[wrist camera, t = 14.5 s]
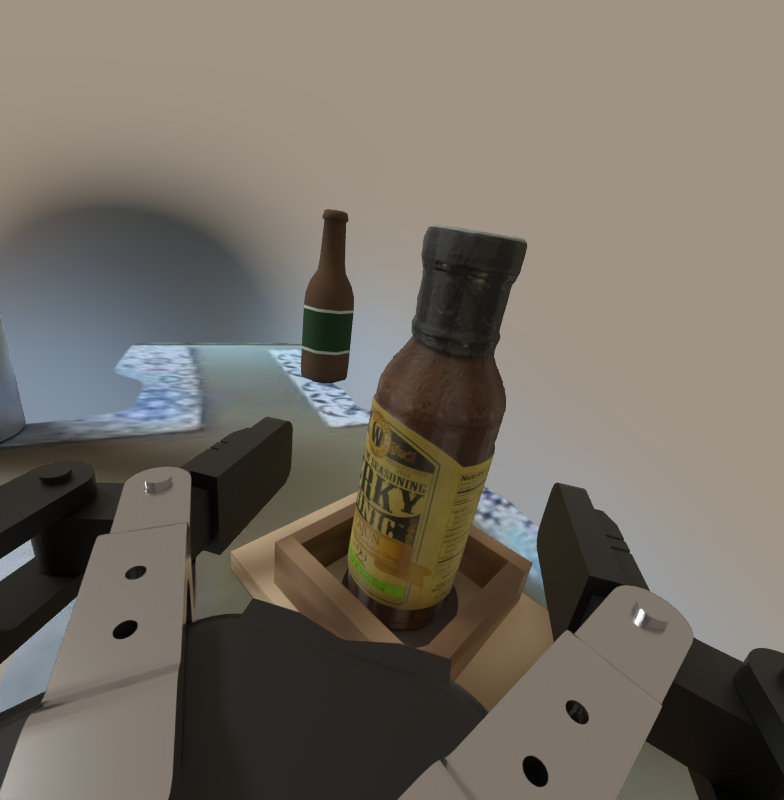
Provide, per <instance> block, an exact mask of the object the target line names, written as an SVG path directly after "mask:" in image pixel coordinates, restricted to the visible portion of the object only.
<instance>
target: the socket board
mask: <svg viewBox="0 0 784 800" xmlns="http://www.w3.org/2000/svg"><path fill="white" fill-rule="evenodd" d="M357 494H358V491H357V492H355V493H353V494H351V495H349V496H347V497H345V498H343V499H340V500H338V501H336V502H334V503H332V504H330V505H328V506H326V507H324V508H322V509H319V510H317V511H315V512H313V513H311V514H309V515H307V516H305V517H303V518H300V519H298V520H296V521H294V522H292V523H290V524H288V525H286V526H284V527H282V528H279V529H277V530H275V531H273V532H271V533H269V534H267V535H265V536H263V537H260V538H258V539H256V540H254V541H252V542H250V543H248V544H246V545H244V546H242V547H239V548H237V549H235V550H233V551H231V570H232V571H233V573H234V574H235V575H236V576H237V578H238V579H239V580H240V582H241V583H242V584H243V585H244V587H245V588H246V589H247V590H248V592H249V593H250V594H251V595H252V597H253V598H255V599H258V600H262V601H265V602H268V603H271V604H275V605H278V606H281V607H284V608H287V609H291V610H294V611H297V612H300V613H301V614H303V615H304V616H306V617H308V618H309V619H311V620H312V621H314V622H316V623H317V624H319V625H320V626H322V627H323V628H325V629H327V630H328V631H330V632H331V633H333V634H335V635H336V636H338V637H340V638H341V639H344V640H351V641H368V642H386V643H400V644H403V645H407V646H410V647H413V648H416V649H420V650H423V651H426V652H429V653H432V654H436V655H439V656H442V657H445V658H449V659H452V660H451V672H450V679H451V680H453V681H454V682H456V683H457V684H459V685H460V686H462V687H463V688H464V689H465V690H467V691H468V692H469V693H471V694H472V695H473V696H474V697H475V698H476V699H477V700H478V701H479V702H480V703H481V704H482V705H483V706H484V707H485V708H486V710H487V711H488V712H490V711H491V710H492V709H493V708H494V707H495V706H496V705H497V704H498V703H499V702H500V700H501V699H502V698H503V697H504V696H505V695H506V694H507V693H508V692H509V691H510V690H511V689H512V688H513V686H514V685H515V684H516V683H517V682H518V681H519V680H520V679H521V678H522V677H523V676H524V675H525V674H526V672H527V671H528V670H529V669H530V668H531V667H532V666H533V665H534V664H535V663H536V662H537V661H538V659H539V658H540V657H541V656H542V655H543V654H544V653H545V652H546V651H547V650H548V649H549V648H550V647H551V645H552V644H553V643H554V641H553V635H552V629H551V624H550V618H549V613H548V610H547V609H546V608H544V607H543V606H541V605H540V604H538V603H537V602H536V601H534V600H533V599H531V598H530V597H528V596H527V595H525V594H524V593H523V592H522V591H523V588H524V586H525V583H526V580H527V577H528V574H529V571H530V568H531V565H532V563H531V562H530V561H528V560H527V559H525V558H524V557H522V556H520V555H519V554H517V553H516V552H514V551H512V550H511V549H509V548H508V547H506V546H505V545H503V544H501V543H500V542H498V541H497V540H495V539H493V538H492V537H490V536H489V535H487V534H486V533H484V532H482V531H481V530H479V529H478V528H476V527H474V526H473V525H471V529H470V532H469V535H468V538H467V542H466V545H465V548H464V552H463V555H462V558H461V561H460V565H459V568H458V571H457V574H456V577H455V580H454V584H453V586H452V589H451V591H450V592H449V594H448V597H447V601H446V603H445V604H444V606H443V608H442V610H441V611H440V613H439V614H438V615H437V616H436V617H435V619H433V620H432V621H431V622H430V623H429V624H428V625H426V626H425V627H422V628H420V629H415V630H410V629H407V630H401V629H400V630H398V629H393V628H387V627H386V626H385V625H384V624H382V623H381V622H380V621H379V620H378V619H377V618H376V617H375V616H374V615H373V614H372V613H371V612H370V611H369V610H368V609H367V608H366V607H365V606H364V605H363V604H362V603H361V602H360V601H359V600H358V599H357V598H356V597H355V596H354V595H353V594H352V593H351V592H349V585H348V584H349V581H348V571H349V567H348V551H349V544H350V538H351V532H352V526H353V521H354V515H355V509H356V500H357Z"/></svg>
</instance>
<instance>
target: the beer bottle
mask: <svg viewBox="0 0 784 800" xmlns="http://www.w3.org/2000/svg"><path fill="white" fill-rule="evenodd" d="M323 218H324V220H325V221H324V229H323V238H322V246H321V255H320V261H319V266H318V270H317V271H316V273H315V274H314V275H313V277H312V278H311V280H310V282H309V285H308V288H307V290H306V293H305V301H304V317H303V337H302V356H301V374H302V376H303V377H305V378H308V379H310V380H312V381H315V382H329V383H334V382H337V381H341V380H345V379H346V377H347V370H348V363H349V352H350V341H351V331H352V321H353V311H354V296H353V292H352V287H351V285H350V282H349V280H348V278H347V276H346V272H345V238H346V236H345V235H346V223H347V222H348V215H347V213H345V212H342V211H337V210H330V209H327V210H325V211H324V214H323Z"/></svg>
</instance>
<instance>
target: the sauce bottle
mask: <svg viewBox="0 0 784 800" xmlns="http://www.w3.org/2000/svg"><path fill="white" fill-rule="evenodd" d="M526 249H527V243H526V241H525V240H524V239H523V238H520V237H517V236H508V235H499V234H493V233H487V232H480V231H474V230H468V229H463V228H457V227H449V226H440V225H431V226H429V228H428V230H427V231H426V234H425V236H424V240H423V250H422V263H423V277H422V282H421V287H420V290H419V294H418V298H417V309H416V315H415V317H414V319H413V320H412V334H413V336H412V337H411V339H410V340H409V341H408V342H407V344H406V345H405V346H404V347H403V348H402V349H401V350H400V351H399V352H398V353H397V354H396V355H395V356H394V357H393V359H392V360H391V362H389V364H388V365H387V366H386V368H385V370H384V372H383V373H382V375H381V377H380V380H379V384H378V388H377V393H376V394H375V395H374V396H373V401H372V408H371V412H370V420H369V424H368V431H367V438H366V444H365V451H364V456H363V464H362V470H361V475H360V483H359V488H358V494H357V500H356V509H355V515H354V521H353V526H352V532H351V538H350V544H349V551H348V567H349V571H348V581H349V584H348V585H349V592H351V593H352V594H353V595H354V596H355V597H356V598H357V599H358V600H359V601H360V602H361V603H362V604H363V605H364V606H365V607H366V608H367V609H368V610H369V611H370V612H371V613H372V614H373V615H374V616H375V617H376V618H377V619H378V620H379V621H380V622H381V623H382V624H384V625H385V626H386V627H387V628H393V629H398V630H400V629H401V630H407V629H410V630H415V629H420V628H422V627H425V626H426V625H428V624H429V623H430V622H431V621H432V620H433V619H435V617H436V616H437V615H438V614H439V613H440V611H441V610H442V608H443V606H444V604H445V603H446V601H447V597H448V594H449V592H450V591H451V589H452V586H453V584H454V580H455V577H456V574H457V571H458V568H459V565H460V561H461V558H462V555H463V552H464V548H465V545H466V542H467V538H468V535H469V532H470V529H471V525H472V522H473V519H474V516H475V513H476V509H477V506H478V503H479V500H480V497H481V494H482V490H483V487H484V484H485V481H486V478H487V475H488V471H489V468H490V464H491V461H492V458H493V455H494V450H495V445H494V444H495V441H496V438H497V435H498V432H499V428H500V425H501V422H502V419H503V415H504V412H505V408H506V395H505V388H504V386H503V381H502V379H501V376H500V374H499V371H498V369H497V366H496V362H495V358H494V351H495V348H496V345H497V344H498V341H499V340H500V333H499V330H500V326H501V323H502V319H503V315H504V312H505V309H506V305H507V301H508V298H509V294H510V289H511V287H512V284H513V283H514V282H515V281H516V279H517V277H518V275H519V274H520V271H521V267H522V263H523V261H524V257H525V253H526Z"/></svg>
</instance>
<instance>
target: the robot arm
mask: <svg viewBox="0 0 784 800" xmlns="http://www.w3.org/2000/svg"><path fill="white" fill-rule="evenodd" d="M25 423H26V422H25V417H24V413H23V409H22V405H21V400H20V397H19V392H18V388H17V383H16V378H15V374H14V370H13V366H12V361H11V357H10V353H9V348H8V344H7V340H6V336H5V331H4V327H3V323H2V318H1V314H0V442H1V441H4V440H6V439H8V438H10V437H12V436H14V435H15V434H17V433H18V432H20V431H21V430H22V429H23V427H24V426H25ZM292 433H293V428H292V424H291V422H289V421H285V420H280V419H276V418H271V417H265V418H264V419H262V420H261V421H260V422H258V423H257V424H255V425H254V426H252V427H251V428H245V429H242V430H239V431H236V432H233V433H231V434H230V435H228V436H227V437H225V438H224V439H222V440H221V441H220V442H218V443H216V444H215V445H213V446H212V447H211V449H207V450H206V451H204V452H203V453H201V454H200V455H198V456H197V457H195V458H194V459H192V460H191V461H189V462H188V463H187V464H185V465H184V466H182V467H181V468H177V467H158V468H152V469H148V470H145V471H142V472H140V473H138V474H136V475H134V476H132V477H131V478H130V479H128V480H127V481H126V483H125V484H119V483H96V479H95V473H94V469H93V467H92V466H91V465H89V464H86V463H82V462H61V463H54V464H50V465H46V466H43V467H40V468H37V469H34V470H32V471H30V472H28V473H26V474H24V475H22V476H20V477H18V478H16V479H14V480H12V481H10V482H8V483H6V484H4V485H2V486H0V559H1V558H2V557H4V556H5V555H7V554H9V553H10V552H12V551H13V550H15V549H16V548H18V547H19V546H21V545H22V544H24V543H25V542H27V541H28V540H30V539H31V543H32V547H33V551H34V555H35V557H34V558H33V559H32V560H30V561H29V562H27V563H26V564H24V565H23V566H22V567H20V568H19V569H17V570H16V571H14V572H13V573H12V574H10V575H9V576H7V577H6V578H4V579H3V580H2V581H0V664H1V663H2V662H3V661H4V660H6V659H7V658H8V657H9V656H10V655H11V654H12V653H13V652H15V651H16V650H17V649H18V648H19V647H20V646H21V645H23V644H24V643H25V642H26V641H27V640H28V639H29V638H30V637H32V636H33V635H34V634H35V633H36V632H37V631H38V630H40V629H41V628H42V627H43V626H44V625H45V624H46V623H47V622H49V621H50V620H51V619H52V618H53V617H54V616H55V615H57V614H58V613H59V612H60V611H61V610H62V609H63V608H64V607H66V606H67V605H68V604H69V603H70V602H71V601H72V600H74V599H75V598H76V597H77V599H76V602H75V605H74V608H73V611H72V614H71V617H70V620H69V623H68V626H67V629H66V632H65V635H64V638H63V641H62V644H61V647H60V650H59V653H58V656H57V659H56V662H55V665H54V668H53V671H52V674H51V677H50V681H49V684H48V687H47V690H46V691H45V692H43V693H41V694H39V695H37V696H35V697H33V698H30V699H28V700H26V701H24V702H22V703H20V704H18V705H16V706H14V707H12V708H9V709H7V710H5V711H3V712H1V713H0V800H616V798H617V796H618V794H619V792H620V790H621V788H622V786H623V784H624V782H625V780H626V778H627V776H628V774H629V772H630V770H631V768H632V766H633V764H634V762H635V760H636V758H637V756H638V754H639V752H640V750H641V748H642V746H643V744H644V742H645V741H647V742H648V743H650V744H651V745H653V746H655V747H656V748H658V749H659V750H661V751H663V752H664V753H666V754H667V755H669V756H671V757H672V758H674V759H675V760H677V761H679V762H680V763H682V764H684V765H685V766H687V767H688V770H689V773H690V776H691V778H692V781H693V784H694V787H695V790H696V793H697V795H698V798H699V800H784V653H781V652H778V651H775V650H771V649H766V648H757V649H754V650H752V651H751V652H750V653H749V654H748V656H747V658H746V659H745V660H744V662H742V661H739V660H737V659H736V658H733V657H731V656H729V655H727V654H725V653H723V652H721V651H719V650H717V649H715V648H713V647H711V646H709V645H707V644H705V643H703V642H701V641H699V640H697V639H696V638H694V637H693V632H692V629H691V627H690V625H689V623H688V622H687V620H686V619H685V618H684V617H683V615H682V614H681V613H680V612H679V611H678V610H677V609H676V608H675V607H673V606H672V605H671V604H670V603H669V602H667V601H666V600H664V599H663V598H661V597H659V596H658V595H656V594H654V593H652V592H650V590H649V588H648V586H647V584H646V582H645V580H644V578H643V576H642V574H641V572H640V570H639V568H638V566H637V564H636V562H635V560H634V558H633V556H632V554H630V550H629V548H628V546H627V544H626V542H624V538H623V536H622V534H621V532H620V530H619V528H618V526H617V525H616V524H615V523H614V522H613V521H612V520H611V519H610V518H609V517H608V516H607V515H606V514H605V513H604V512H603V511H600V510H596V509H594V507H593V505H592V503H591V501H590V498H589V496H588V494H587V492H586V490H585V489H583V488H579V487H574V486H570V485H565V484H561V483H555V484H554V486H553V488H552V490H551V493H550V496H549V499H548V502H547V505H546V508H545V512H544V514H543V518H542V521H541V524H540V527H539V530H538V536H537V552H538V557H539V563H540V568H541V574H542V579H543V585H544V591H545V596H546V602H547V607H548V613H549V618H550V624H551V629H552V635H553V641H554V643H553V644H552V645H551V647H550V648H549V649H548V650H547V651H546V652H545V653H544V654H543V655H542V656H541V657H540V658H539V659H538V661H537V662H536V663H535V664H534V665H533V666H532V667H531V668H530V669H529V670H528V671H527V672H526V674H525V675H524V676H523V677H522V678H521V679H520V680H519V681H518V682H517V683H516V684H515V685H514V686H513V688H512V689H511V690H510V691H509V692H508V693H507V694H506V695H505V696H504V697H503V698H502V699H501V700H500V702H499V703H498V704H497V705H496V706H495V707H494V708H493V709H492V710H491V711H490V712H488V711H487V710H486V708H485V707H484V706H483V705H482V704H481V703H480V702H479V701H478V700H477V699H476V698H475V697H474V696H473V695H472V694H471V693H469V692H468V691H467V690H465V689H464V688H463V687H462V686H460V685H459V684H457V683H456V682H454V681H453V680H451V679H450V672H451V660H452V659H449V658H445V657H442V656H439V655H436V654H432V653H429V652H426V651H423V650H420V649H416V648H413V647H410V646H407V645H403V644H400V643H386V642H368V641H351V640H344V639H341V638H340V637H338V636H336V635H335V634H333V633H331V632H330V631H328V630H327V629H325V628H323V627H322V626H320V625H319V624H317V623H316V622H314V621H312V620H311V619H309V618H308V617H306V616H304V615H303V614H301V613H300V612H297V611H294V610H291V609H287V608H284V607H281V606H278V605H275V604H271V603H268V602H265V601H262V600H258V599H255V598H253V599H252V601H251V602H250V604H249V605H248V606H247V608H246V609H245V611H244V612H243V614H224V615H218V616H211V617H208V618H204V619H200V620H197V621H196V596H197V560H196V557H197V556H198V555H199V554H200V553H201V552H202V551H203V550H204V551H208V552H211V553H215V554H218V555H221V553H222V552H223V551H224V550H225V549H226V548H227V547H228V546H229V545H230V544H231V542H232V541H233V540H234V539H235V538H236V537H237V536H238V535H239V534H240V532H241V531H242V530H243V529H244V528H245V527H246V526H247V525H248V524H249V523H250V521H251V520H252V519H253V518H254V517H255V516H256V515H257V514H258V513H259V512H260V510H261V509H262V508H263V507H264V506H265V505H266V504H267V503H268V502H269V501H270V499H271V498H272V497H273V496H274V495H275V494H276V493H277V492H278V491H279V489H280V488H281V487H282V486H283V485H284V484H285V482H286V481H287V478H288V476H289V473H290V469H291V456H292Z"/></svg>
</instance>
